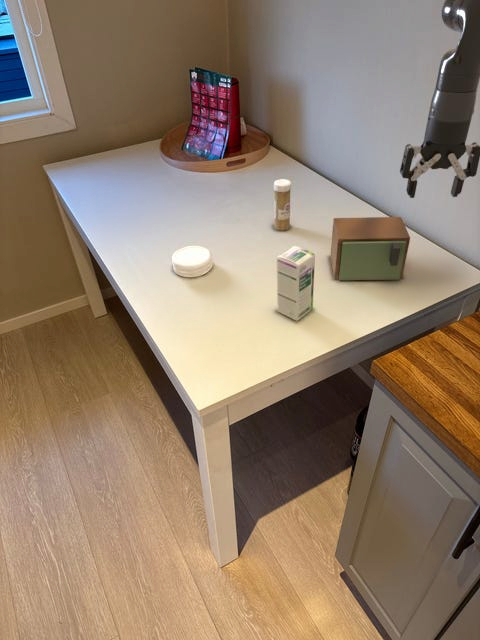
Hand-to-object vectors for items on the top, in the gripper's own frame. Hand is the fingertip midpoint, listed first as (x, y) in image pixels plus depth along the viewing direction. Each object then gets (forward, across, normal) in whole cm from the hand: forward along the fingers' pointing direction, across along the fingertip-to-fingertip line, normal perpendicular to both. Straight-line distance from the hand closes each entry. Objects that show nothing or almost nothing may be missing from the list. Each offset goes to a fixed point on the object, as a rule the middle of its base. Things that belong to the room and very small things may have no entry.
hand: (432, 195), depth 100 cm
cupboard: (+22, +10, -7) cm, 25 cm away
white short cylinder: (+22, +53, -8) cm, 58 cm away
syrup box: (+22, +28, +10) cm, 37 cm away
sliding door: (+21, +10, 0) cm, 24 cm away
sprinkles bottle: (+22, +30, -28) cm, 47 cm away
